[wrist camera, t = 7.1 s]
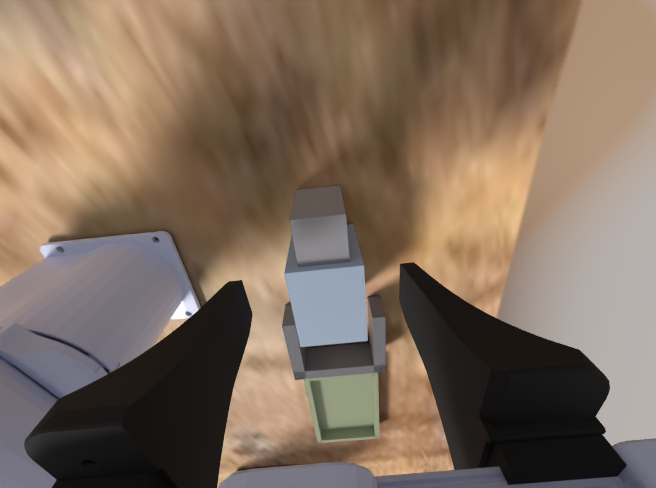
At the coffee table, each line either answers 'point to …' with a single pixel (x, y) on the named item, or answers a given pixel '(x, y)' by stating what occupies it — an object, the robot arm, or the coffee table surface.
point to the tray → (344, 407)
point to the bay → (339, 349)
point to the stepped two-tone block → (325, 270)
